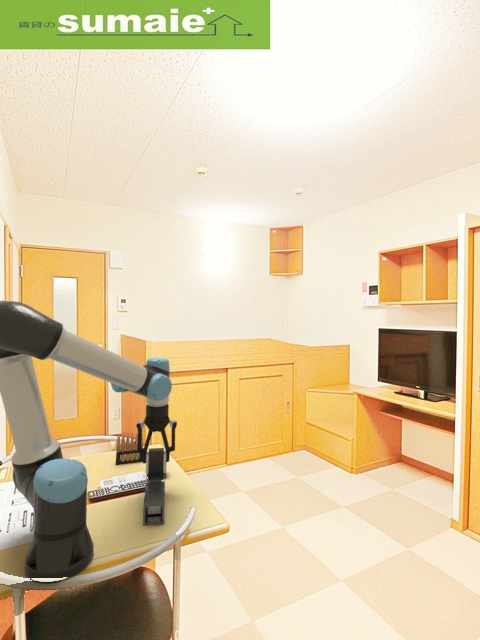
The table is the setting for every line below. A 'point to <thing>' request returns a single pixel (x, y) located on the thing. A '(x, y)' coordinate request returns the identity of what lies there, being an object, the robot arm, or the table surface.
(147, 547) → the table surface
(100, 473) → the table surface
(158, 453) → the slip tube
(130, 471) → the table surface
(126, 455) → the ammunition clip
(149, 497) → the sleeve
